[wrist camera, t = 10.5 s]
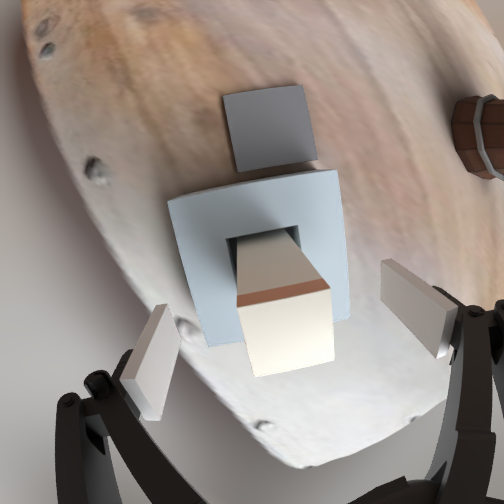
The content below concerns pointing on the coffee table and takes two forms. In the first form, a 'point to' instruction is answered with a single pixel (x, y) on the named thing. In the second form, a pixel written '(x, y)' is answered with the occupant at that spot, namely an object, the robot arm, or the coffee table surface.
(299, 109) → the mat
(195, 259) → the socket block
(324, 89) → the coffee table surface
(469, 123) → the mug
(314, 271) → the peg
